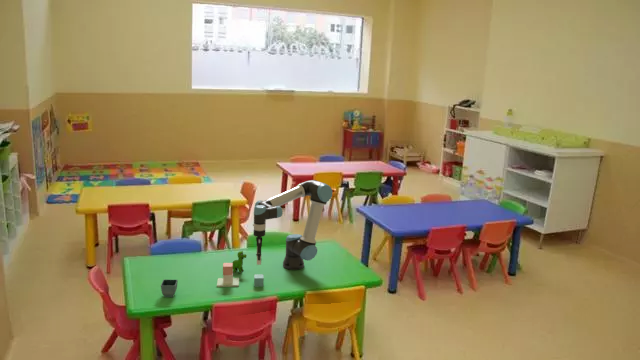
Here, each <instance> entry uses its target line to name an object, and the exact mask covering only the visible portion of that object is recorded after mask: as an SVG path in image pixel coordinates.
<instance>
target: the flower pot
mask: <svg viewBox="0 0 640 360" xmlns="http://www.w3.org/2000/svg"><path fill="white" fill-rule="evenodd" d="M178 281H179V280H178V279H166V278H165V279H163V280H162V282H161V284H160V290H161V293H162V296H163V297H164V298H174V297H175V295H176V291H177V288H178Z"/></svg>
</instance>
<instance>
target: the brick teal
mask: <svg viewBox="0 0 640 360" xmlns="http://www.w3.org/2000/svg"><path fill="white" fill-rule="evenodd" d="M253 275H254V276H253V279H254V280H253V285H254V287H255V288H257V287H259V288H260V287H261V288H263V287H264V281H265V280H264V279H265V278H264V274H262V273H260V274H259V273H258V274H257V273H256V274H253Z"/></svg>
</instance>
